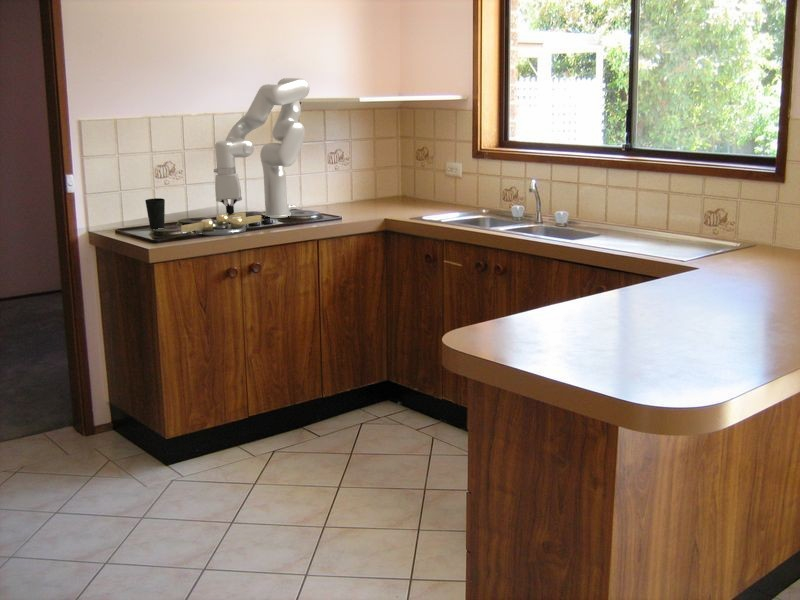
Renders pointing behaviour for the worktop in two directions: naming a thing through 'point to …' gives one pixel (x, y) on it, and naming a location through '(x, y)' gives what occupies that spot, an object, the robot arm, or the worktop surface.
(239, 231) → the tribrach plate
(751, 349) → the worktop surface
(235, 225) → the brass lever handle
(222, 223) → the knob
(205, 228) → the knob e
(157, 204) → the cup
